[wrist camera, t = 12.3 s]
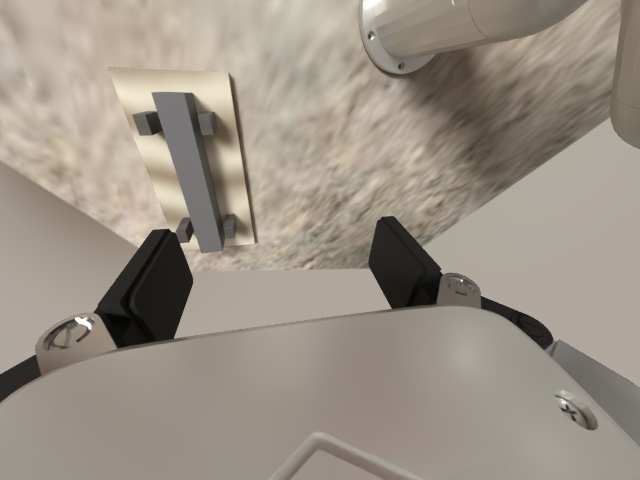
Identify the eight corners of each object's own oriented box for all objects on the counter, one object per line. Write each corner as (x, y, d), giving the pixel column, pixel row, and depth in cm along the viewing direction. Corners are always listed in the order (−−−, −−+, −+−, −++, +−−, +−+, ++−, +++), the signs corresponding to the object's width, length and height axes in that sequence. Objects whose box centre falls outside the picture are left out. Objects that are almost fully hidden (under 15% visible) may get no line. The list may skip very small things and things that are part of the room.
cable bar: (164, 91, 26) (151, 92, 23) (192, 92, 27) (184, 93, 24) (205, 238, 37) (201, 253, 34) (225, 236, 38) (222, 251, 35)
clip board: (112, 67, 25) (84, 64, 21) (228, 73, 28) (224, 70, 23) (180, 247, 38) (171, 267, 34) (254, 240, 41) (254, 257, 37)
